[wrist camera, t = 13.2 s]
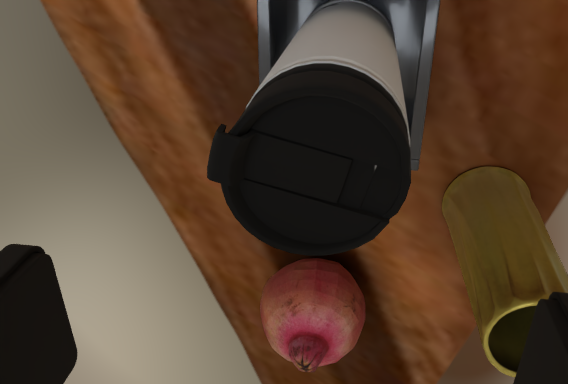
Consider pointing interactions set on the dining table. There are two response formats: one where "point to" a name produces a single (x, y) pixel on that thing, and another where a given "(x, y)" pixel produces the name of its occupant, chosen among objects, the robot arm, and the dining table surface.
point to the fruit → (312, 312)
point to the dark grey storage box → (408, 37)
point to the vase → (501, 258)
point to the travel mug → (321, 137)
